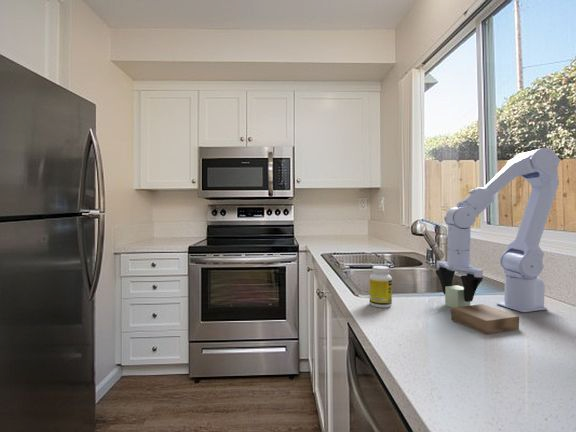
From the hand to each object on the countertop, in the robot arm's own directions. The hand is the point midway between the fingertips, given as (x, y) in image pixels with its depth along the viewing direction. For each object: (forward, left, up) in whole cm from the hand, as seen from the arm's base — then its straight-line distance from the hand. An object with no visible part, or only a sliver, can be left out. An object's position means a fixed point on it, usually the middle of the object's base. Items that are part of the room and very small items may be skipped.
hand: (457, 297), depth 95 cm
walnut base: (+5, +13, -3) cm, 14 cm away
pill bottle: (+20, -8, -3) cm, 22 cm away
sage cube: (0, 0, -3) cm, 3 cm away
